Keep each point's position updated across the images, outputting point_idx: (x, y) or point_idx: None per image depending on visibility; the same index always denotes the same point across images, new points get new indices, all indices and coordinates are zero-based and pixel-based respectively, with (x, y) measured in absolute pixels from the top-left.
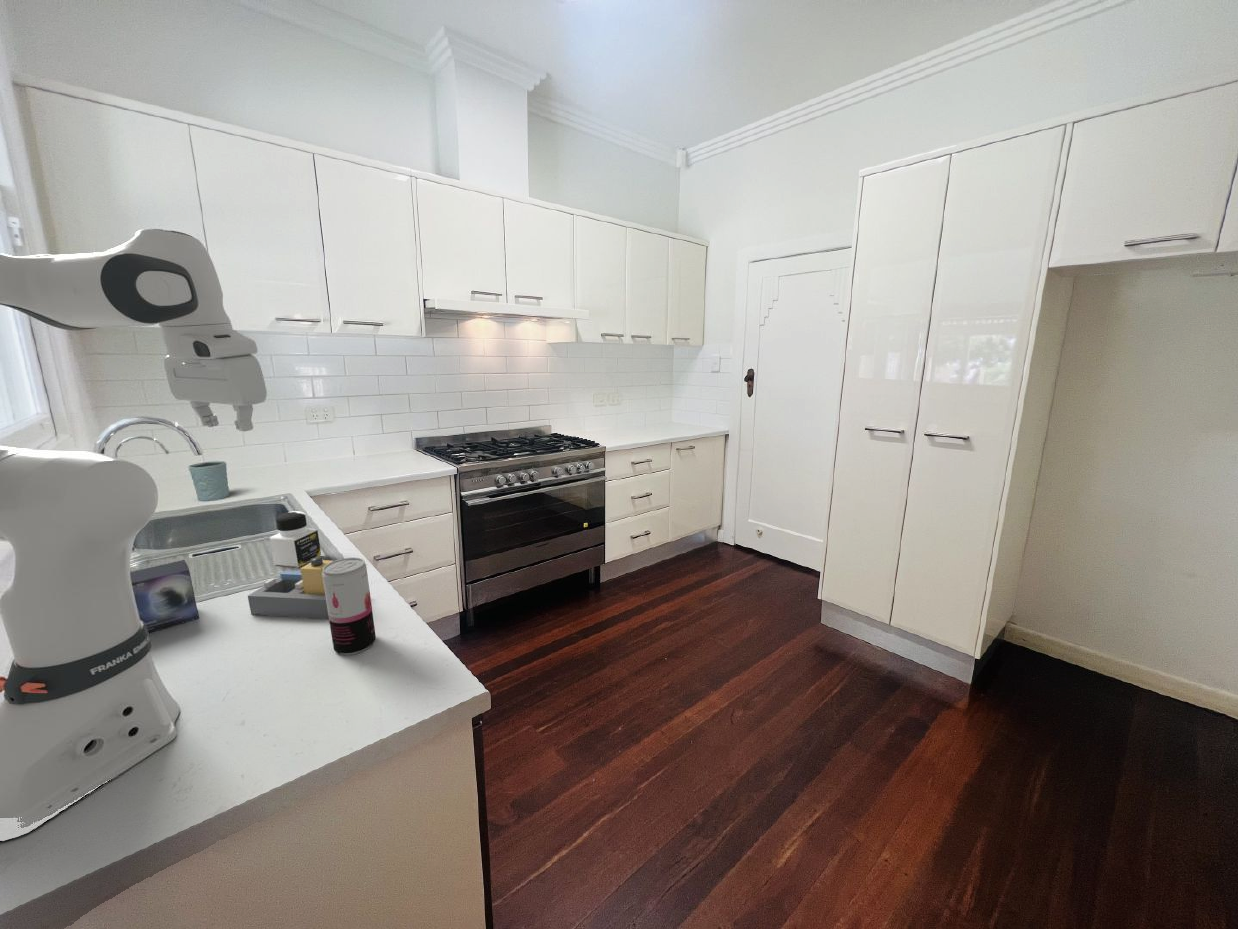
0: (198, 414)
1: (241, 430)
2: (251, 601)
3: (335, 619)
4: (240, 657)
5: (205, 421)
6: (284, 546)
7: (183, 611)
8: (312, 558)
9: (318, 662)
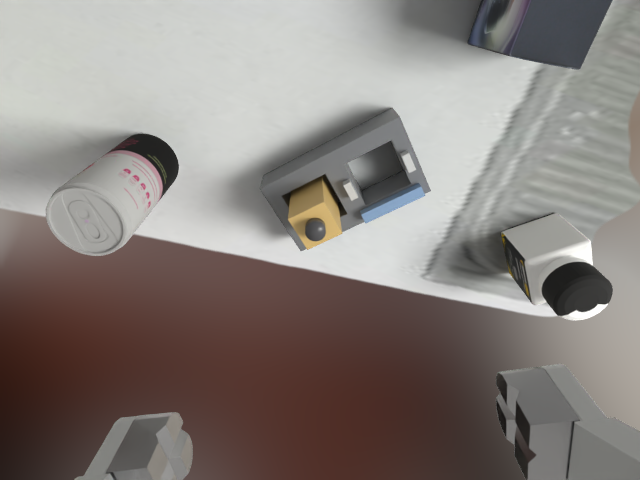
0: (625, 434)
1: (129, 417)
2: (392, 116)
3: (106, 154)
4: (252, 36)
5: (523, 397)
6: (544, 243)
7: (480, 22)
8: (324, 229)
9: (140, 106)
